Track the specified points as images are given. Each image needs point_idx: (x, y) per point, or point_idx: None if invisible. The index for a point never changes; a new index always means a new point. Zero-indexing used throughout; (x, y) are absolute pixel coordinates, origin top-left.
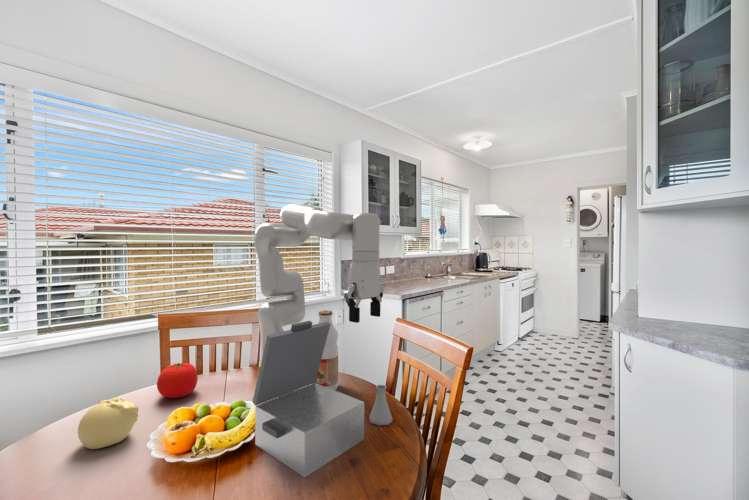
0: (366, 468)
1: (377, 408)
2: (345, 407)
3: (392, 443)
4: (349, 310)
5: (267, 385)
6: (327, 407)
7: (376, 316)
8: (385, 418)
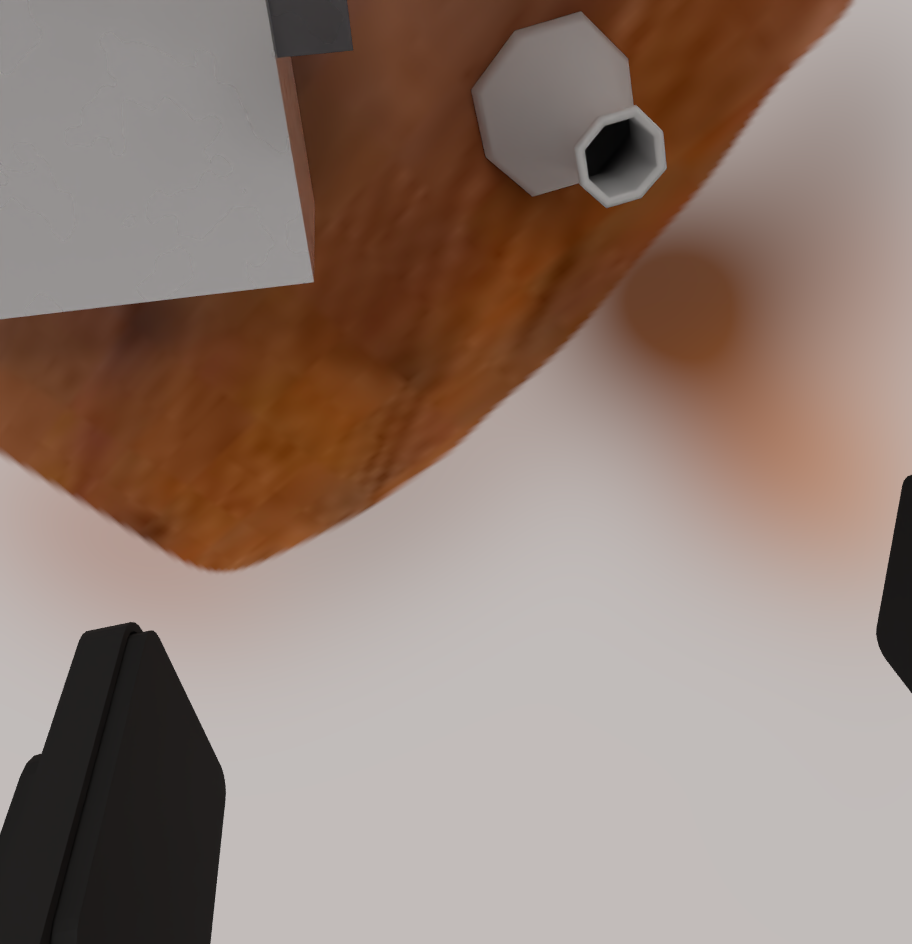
0: (167, 394)
1: (527, 141)
2: (142, 256)
3: (406, 337)
4: (12, 867)
5: None
6: (13, 154)
7: (894, 585)
8: (535, 184)
